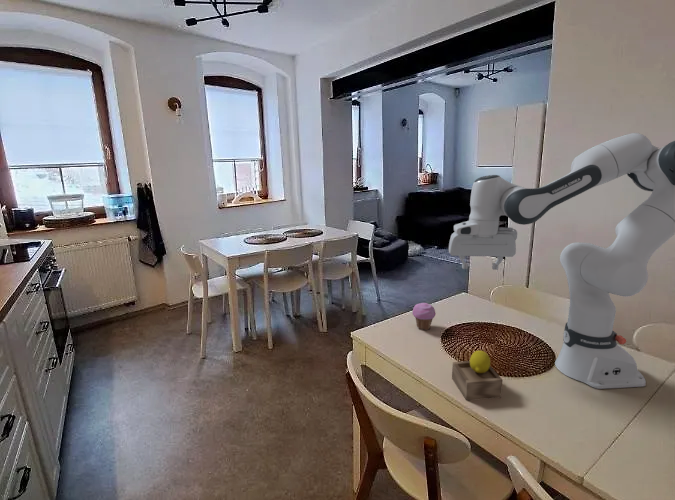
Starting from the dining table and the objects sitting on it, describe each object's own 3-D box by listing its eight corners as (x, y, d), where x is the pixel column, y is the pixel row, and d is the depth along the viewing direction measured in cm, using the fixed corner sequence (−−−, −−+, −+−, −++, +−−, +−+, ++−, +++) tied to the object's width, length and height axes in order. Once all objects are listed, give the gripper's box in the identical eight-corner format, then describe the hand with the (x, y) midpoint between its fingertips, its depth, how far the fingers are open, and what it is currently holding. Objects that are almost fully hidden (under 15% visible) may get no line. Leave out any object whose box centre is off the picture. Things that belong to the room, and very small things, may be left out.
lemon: (493, 373, 98) (495, 354, 105) (476, 360, 99) (480, 342, 105) (479, 382, 102) (483, 363, 108) (463, 369, 102) (468, 351, 109)
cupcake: (434, 334, 135) (435, 309, 132) (410, 331, 138) (411, 307, 135) (435, 323, 143) (436, 300, 141) (413, 321, 146) (414, 298, 143)
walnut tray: (483, 377, 109) (485, 359, 108) (500, 398, 100) (502, 379, 98) (451, 379, 109) (452, 362, 107) (465, 401, 99) (467, 382, 97)
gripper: (514, 225, 115) (510, 266, 119) (448, 225, 118) (446, 265, 122) (521, 229, 109) (516, 272, 113) (451, 229, 112) (449, 271, 116)
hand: (479, 268), depth 117 cm, fingers open, 8 cm apart
